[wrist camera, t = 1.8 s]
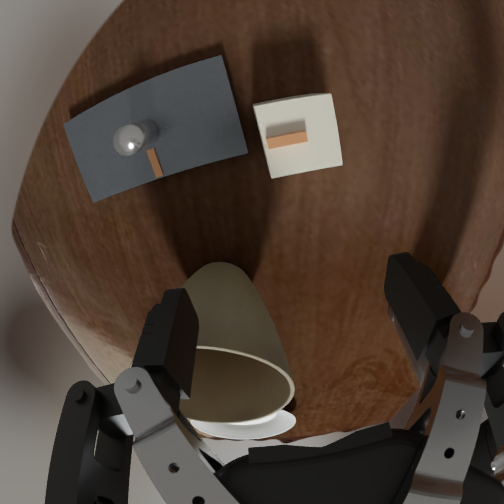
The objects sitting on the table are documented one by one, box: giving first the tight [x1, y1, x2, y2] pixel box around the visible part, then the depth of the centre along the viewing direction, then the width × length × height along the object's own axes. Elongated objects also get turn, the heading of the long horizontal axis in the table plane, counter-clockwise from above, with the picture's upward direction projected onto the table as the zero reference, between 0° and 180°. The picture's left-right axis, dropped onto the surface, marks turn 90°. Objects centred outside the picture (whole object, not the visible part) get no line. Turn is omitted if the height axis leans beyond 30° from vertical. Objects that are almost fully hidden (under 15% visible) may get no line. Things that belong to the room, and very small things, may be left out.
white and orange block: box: [252, 93, 343, 179], centre depth 22 cm, size 6×6×7 cm
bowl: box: [190, 409, 296, 439], centre depth 56 cm, size 25×25×4 cm
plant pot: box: [129, 262, 295, 423], centre depth 28 cm, size 15×15×16 cm
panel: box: [64, 55, 248, 203], centre depth 22 cm, size 18×10×6 cm, turn 104°
